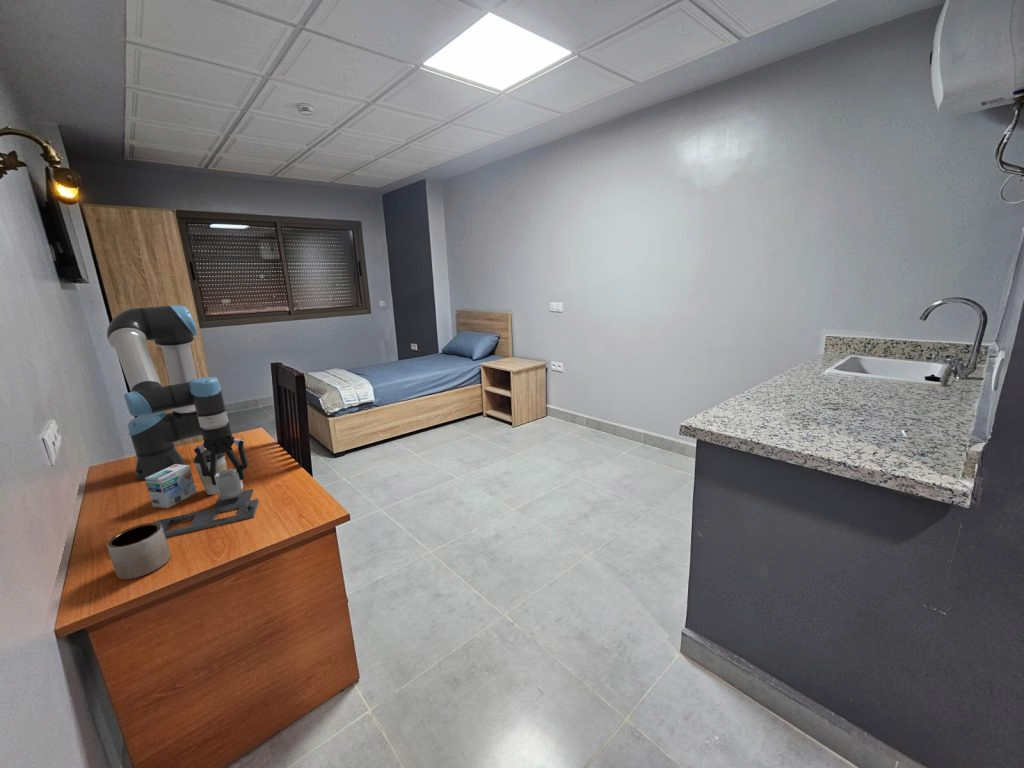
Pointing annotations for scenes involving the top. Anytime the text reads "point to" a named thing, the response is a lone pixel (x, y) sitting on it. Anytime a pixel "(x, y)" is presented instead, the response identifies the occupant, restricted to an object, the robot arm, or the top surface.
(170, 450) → the robot arm
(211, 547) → the top surface
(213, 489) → the coffee cup
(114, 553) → the planter
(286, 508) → the top surface
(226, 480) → the grey square block
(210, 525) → the rack rail
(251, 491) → the rubber mat
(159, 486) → the light bulb box
